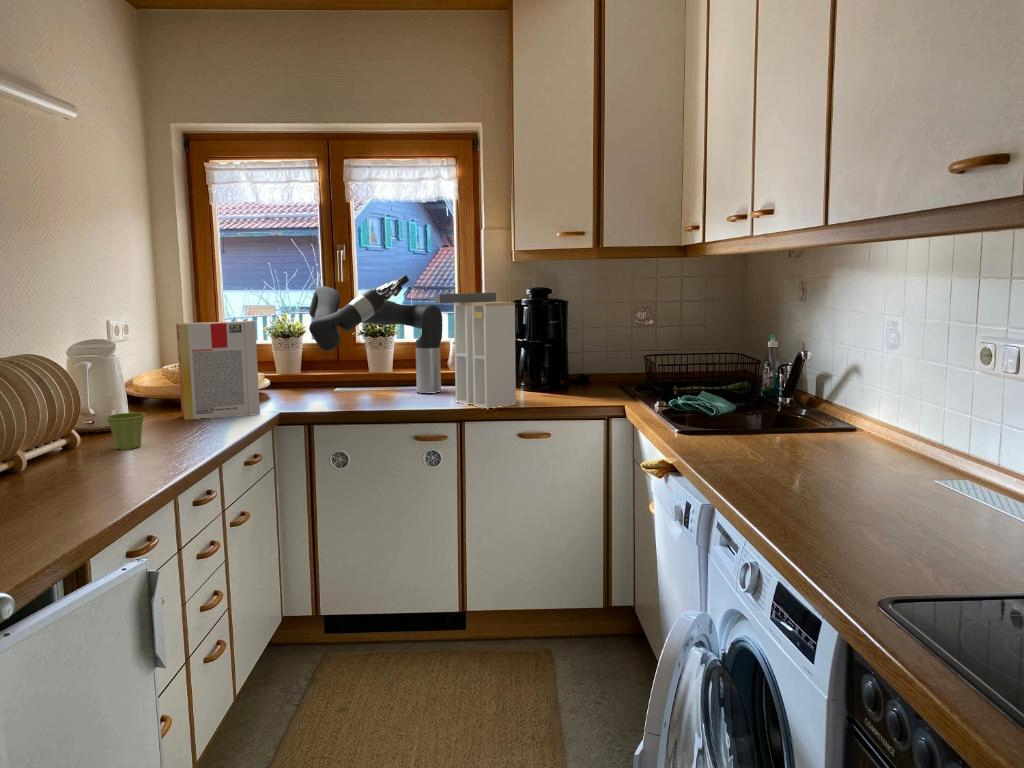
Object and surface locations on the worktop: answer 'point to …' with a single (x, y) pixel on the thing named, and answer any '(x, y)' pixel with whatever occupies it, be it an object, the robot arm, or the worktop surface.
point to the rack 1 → (463, 351)
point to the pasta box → (218, 369)
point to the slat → (465, 297)
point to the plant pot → (126, 429)
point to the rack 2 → (493, 354)
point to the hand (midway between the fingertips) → (406, 277)
